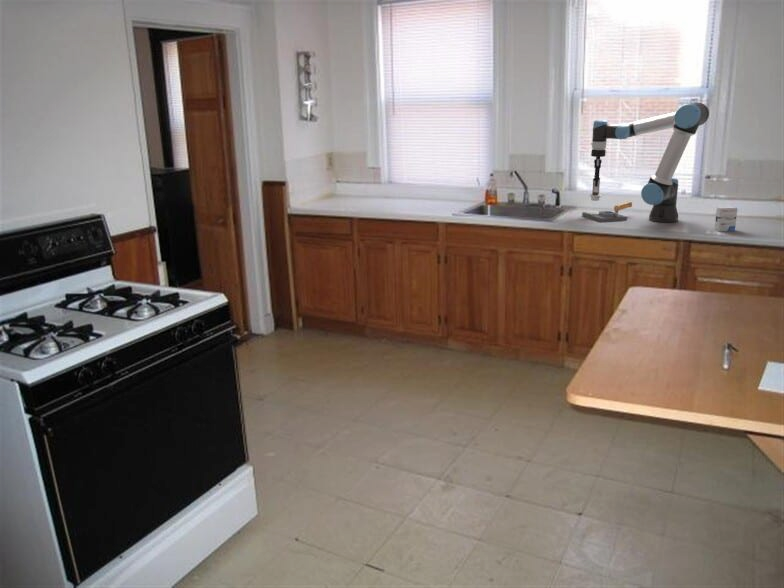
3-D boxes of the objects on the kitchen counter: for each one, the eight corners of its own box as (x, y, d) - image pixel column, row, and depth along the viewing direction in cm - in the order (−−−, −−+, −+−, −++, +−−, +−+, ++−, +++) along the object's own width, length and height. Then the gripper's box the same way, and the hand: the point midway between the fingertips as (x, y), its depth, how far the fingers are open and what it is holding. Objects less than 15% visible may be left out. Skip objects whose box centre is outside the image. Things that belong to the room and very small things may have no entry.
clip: (617, 211, 387) (618, 206, 386) (613, 210, 389) (613, 205, 388) (632, 206, 399) (632, 202, 398) (627, 206, 401) (628, 201, 400)
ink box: (730, 229, 362) (733, 206, 359) (735, 231, 358) (738, 207, 354) (713, 229, 362) (716, 206, 359) (718, 231, 357) (721, 208, 354)
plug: (602, 200, 397) (604, 179, 393) (593, 201, 395) (594, 179, 392) (597, 198, 402) (598, 177, 399) (587, 199, 401) (589, 178, 397)
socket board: (626, 220, 390) (627, 211, 388) (600, 222, 386) (600, 212, 385) (607, 214, 408) (607, 205, 407) (582, 215, 405) (582, 207, 403)
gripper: (591, 147, 399) (589, 189, 406) (591, 150, 384) (588, 193, 391) (605, 147, 397) (602, 189, 404) (605, 150, 382) (602, 194, 389)
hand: (595, 191), depth 397 cm, fingers closed on plug, 3 cm apart
